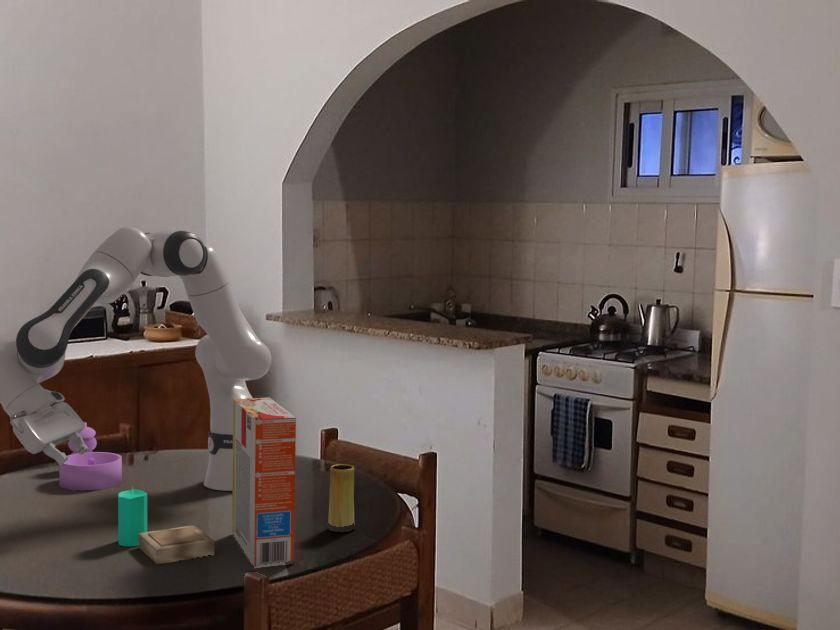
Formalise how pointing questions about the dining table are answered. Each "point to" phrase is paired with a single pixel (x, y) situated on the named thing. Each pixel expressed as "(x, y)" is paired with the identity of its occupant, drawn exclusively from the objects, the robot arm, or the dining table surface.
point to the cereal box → (263, 480)
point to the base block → (176, 544)
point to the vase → (341, 495)
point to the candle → (131, 516)
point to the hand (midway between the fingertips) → (75, 457)
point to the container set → (90, 466)
